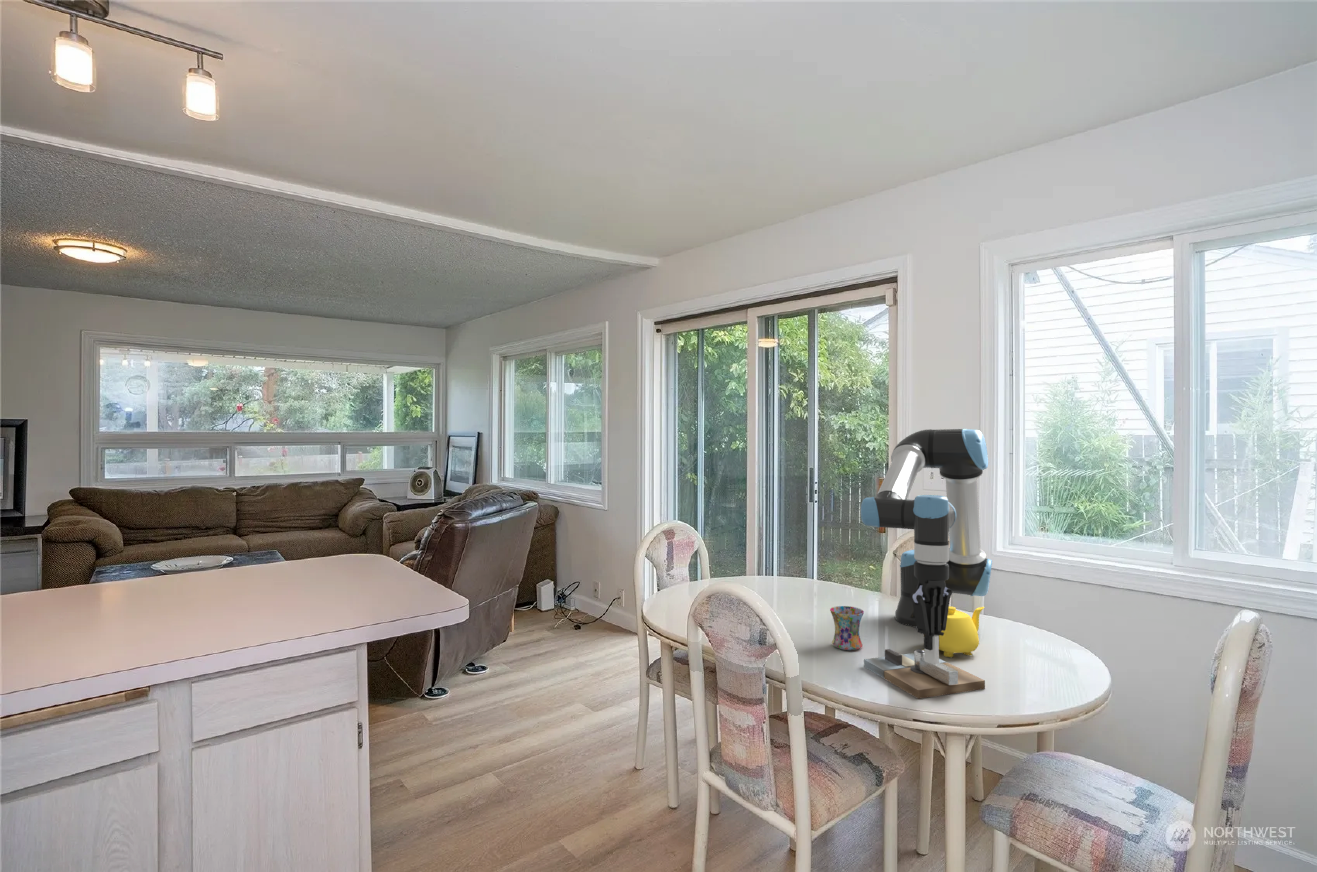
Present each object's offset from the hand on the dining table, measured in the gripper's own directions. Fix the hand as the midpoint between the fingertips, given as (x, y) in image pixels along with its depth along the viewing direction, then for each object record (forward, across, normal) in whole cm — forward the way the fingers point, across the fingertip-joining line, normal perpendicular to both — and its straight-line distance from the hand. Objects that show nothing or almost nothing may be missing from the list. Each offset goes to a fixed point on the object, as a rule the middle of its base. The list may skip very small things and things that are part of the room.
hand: (931, 662), depth 148 cm
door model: (+8, -7, -8) cm, 13 cm away
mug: (+8, -10, -35) cm, 37 cm away
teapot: (+8, -32, -16) cm, 36 cm away
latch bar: (+5, -6, -3) cm, 8 cm away
